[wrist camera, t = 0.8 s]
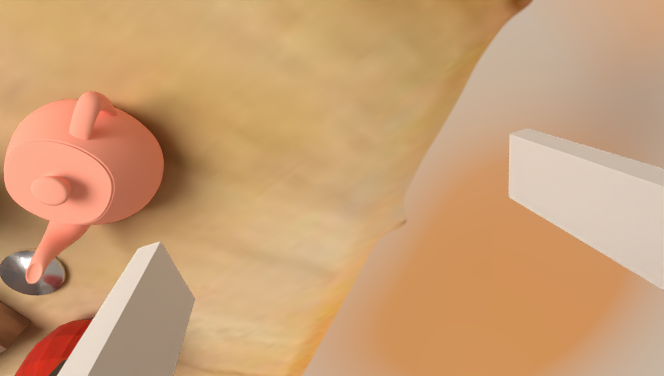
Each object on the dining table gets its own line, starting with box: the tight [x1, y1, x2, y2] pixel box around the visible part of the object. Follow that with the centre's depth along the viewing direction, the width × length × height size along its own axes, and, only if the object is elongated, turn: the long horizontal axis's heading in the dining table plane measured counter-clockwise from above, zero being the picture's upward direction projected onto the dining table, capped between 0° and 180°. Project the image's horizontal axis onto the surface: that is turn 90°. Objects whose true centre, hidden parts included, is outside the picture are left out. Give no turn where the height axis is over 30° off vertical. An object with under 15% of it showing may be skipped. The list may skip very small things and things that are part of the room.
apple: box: [15, 319, 93, 376], centre depth 36 cm, size 10×10×12 cm
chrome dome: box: [0, 249, 66, 295], centre depth 36 cm, size 6×6×1 cm
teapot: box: [4, 91, 164, 284], centre depth 29 cm, size 12×18×10 cm
